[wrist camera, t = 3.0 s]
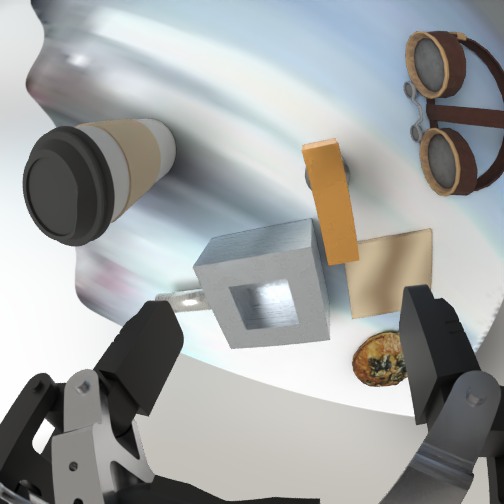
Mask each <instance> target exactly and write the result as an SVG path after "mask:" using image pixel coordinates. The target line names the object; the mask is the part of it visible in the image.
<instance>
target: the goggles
mask: <svg viewBox="0 0 504 504" xmlns="http://www.w3.org/2000/svg"><path fill="white" fill-rule="evenodd" d="M460 43H461V44H463V45H465V46H466V47H468V48H469V49H471V50H472V51H474V52H475V53H476V54H477V55H478V56H479V57H480V58H481V59H482V60H483V61H484V62H485V64H486V65H487V66H488V68H489V69H490V71H491V73H492V74H493V76H494V78H495V79H496V82H497V84H498V87H499V90H500V92H501V94H502V98H503V102H504V71H503V69H502V68H501V66H500V64H499V63H498V62H497V60H496V59H495V58H494V57H493V56H492V55H491V54H490V52H489V51H488V50H487V49H485V48H484V47H483V46H481V45H480V44H478V43H477V42H476V41H474V40H472V39H469V38H466V36H465V35H464V34H463V33H459V32H447V31H433V32H422V31H416V32H415V33H414V34H412V35H411V36H410V38H409V40H408V42H407V44H406V54H405V56H406V64H407V69H408V72H409V75H410V79H411V81H412V82H413V83H412V82H409V81H408V82H406V83H405V84H404V92H405V95H406V96H407V97H408V98H410V99H412V102H413V103H415V104H416V105H417V106H418V108H419V114H420V119H419V120H418V121H417V122H416V124H415V125H413V126H412V127H411V129H410V133H411V137H412V139H413V140H414V141H415V142H420V141H421V143H420V159H421V165H422V169H423V172H424V175H425V178H426V180H427V182H428V183H429V185H430V187H431V188H432V189H433V190H434V191H435V192H436V193H437V194H438V195H442V196H448V195H465V196H467V195H469V194H470V193H472V192H473V191H478V190H480V189H483V188H485V187H488V186H490V185H491V184H492V183H493V182H495V181H496V180H497V179H498V178H499V177H500V176H501V175H502V173H503V172H504V137H503V142H502V146H501V149H500V151H499V154H498V156H497V158H496V160H495V161H494V163H493V164H492V166H491V167H490V168H489V170H488V171H487V172H486V173H484V174H483V175H482V176H480V177H479V178H478V179H477V166H476V162H475V158H474V155H473V153H472V151H471V149H470V147H469V145H468V143H467V142H466V140H465V139H464V138H463V137H462V136H461V135H460V134H459V133H458V132H456V131H454V130H452V129H450V128H442V129H438V124H437V121H444V122H451V123H459V124H467V125H476V126H485V127H494V128H503V129H504V111H499V110H490V109H479V108H467V107H455V106H442V105H435V101H434V98H446V97H450V96H454V95H455V94H456V93H457V92H458V91H459V90H460V88H461V87H462V84H463V81H464V79H465V76H466V59H465V55H464V52H463V48H462V46H461V45H460ZM416 89H417V90H418V91H419V92H420V93H421V94H422V95H423V96H424V97H426V98H427V104H426V113H427V116H428V119H429V121H430V127H431V128H430V129H427V130H426V132H425V133H424V134H422V130H421V128H420V127H419V126H418V124H420V123H421V122H422V121H423V115H422V107H421V106H420V105H419V104H418V103H417V102H416V101H415V97H416Z"/></svg>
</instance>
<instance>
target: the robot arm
mask: <svg viewBox="0 0 504 504" xmlns="http://www.w3.org/2000/svg"><path fill="white" fill-rule="evenodd" d="M399 338H400V344H401V348H402V352H403V356H404V361H405V365H406V370H407V375H408V380H409V385H410V391H411V396H412V402H413V408H414V414H415V421H416V425H420V424H425V423H427V427H428V435H427V436H426V438H425V439H424V441H423V443H422V444H421V446H420V448H419V449H418V451H417V452H416V454H415V455H414V457H413V458H412V460H411V461H410V463H409V464H408V466H407V467H406V469H405V470H404V471H403V473H402V474H401V476H400V477H399V478H398V480H397V481H396V482H395V484H394V485H393V486H392V488H391V489H390V490H389V491H388V493H387V494H386V495H385V496H384V498H383V499H382V500H381V501H380V502H379V504H461V502H462V501H463V499H464V497H465V495H466V494H467V492H468V490H469V488H470V486H471V484H472V481H473V478H474V474H473V473H472V470H473V468H474V465H475V463H476V461H477V459H478V457H486V458H487V467H488V476H489V492H490V504H504V386H500V385H499V384H498V382H497V381H496V379H495V378H494V377H493V376H492V375H490V374H488V373H486V372H483V371H481V369H480V367H479V364H478V361H477V359H476V356H475V354H474V352H473V349H472V347H471V344H470V342H469V340H468V338H467V335H466V333H465V332H464V329H463V327H462V324H461V322H459V318H458V316H457V314H456V312H455V310H454V308H453V307H452V306H451V305H450V304H449V303H448V302H446V301H445V300H444V299H443V298H440V299H434V297H433V294H432V292H431V290H430V288H429V286H428V285H427V284H422V285H414V286H405V287H404V290H403V297H402V306H401V314H400V321H399ZM183 343H184V336H183V332H182V330H181V327H180V325H179V323H178V321H177V318H176V316H175V314H174V311H173V309H172V307H171V305H170V303H169V302H168V301H166V300H163V301H147V302H146V303H145V304H144V305H143V307H142V308H141V309H140V311H139V312H138V313H137V314H136V315H135V316H134V317H132V318H131V319H130V320H129V321H127V322H126V324H125V325H124V326H123V328H122V329H121V331H120V334H118V335H117V336H116V337H115V339H114V342H112V343H111V345H110V346H109V347H108V349H107V350H106V352H105V353H104V354H103V356H102V357H101V359H100V360H99V362H98V363H97V365H96V366H95V367H94V369H93V370H90V369H85V370H81V371H79V372H77V373H75V374H74V375H73V376H72V377H71V378H70V379H69V380H68V381H67V383H55V382H54V381H53V380H52V379H51V377H50V376H49V375H48V374H46V373H40V374H37V375H35V376H34V377H32V378H31V379H30V380H29V381H28V383H27V384H26V386H25V387H24V388H23V390H22V391H21V393H20V395H19V396H18V398H17V399H16V400H15V402H14V404H13V405H12V406H11V408H10V410H9V411H8V413H7V414H6V416H5V418H4V419H3V421H2V422H1V424H0V504H320V499H305V498H304V499H303V498H281V497H272V498H264V499H254V500H244V501H225V500H223V499H220V498H218V497H216V496H213V495H211V494H209V493H207V492H205V491H203V490H201V489H199V488H197V487H195V486H193V485H191V484H188V483H183V482H180V481H175V480H172V479H168V478H165V477H161V476H158V475H155V474H154V473H153V472H152V470H151V469H150V467H149V465H148V463H147V460H146V457H145V453H144V449H143V446H142V442H141V438H140V434H139V431H138V426H137V423H136V421H135V420H134V417H135V415H136V414H140V415H145V416H149V415H150V413H151V411H152V409H153V406H154V404H155V402H156V400H157V398H158V396H159V394H160V392H161V390H162V388H163V386H164V384H165V382H166V380H167V377H168V376H169V373H170V372H171V370H172V368H173V365H174V363H175V361H176V359H177V357H178V355H179V353H180V351H181V349H182V347H183ZM44 418H45V419H47V421H48V422H50V423H51V424H52V425H53V426H54V427H55V430H54V431H53V433H52V435H51V437H50V439H49V441H48V443H47V444H46V446H45V448H44V450H43V452H42V453H41V454H39V453H37V452H36V451H35V450H34V448H33V446H32V440H33V438H34V436H35V434H36V432H37V431H38V429H39V427H40V425H41V424H42V422H43V420H44ZM20 481H21V482H20Z"/></svg>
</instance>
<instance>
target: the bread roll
mask: <svg viewBox="0 0 504 504" xmlns="http://www.w3.org/2000/svg"><path fill="white" fill-rule="evenodd" d="M352 366H353V371H354V372H355V375H356V376H357V378H358V379H359V380H360V381H361V382H363V383H364V384H366V385H368V386H374V387H380V386H391V385H397V384H399V382H401V381H403V379H405V378H406V377H408V375H407V370H406V365H405V361H404V356H403V352H402V348H401V344H400V338H399V332H396V333H391V332H389V333H381V334H378V335H375V336H373V337H371V338H370V339H368V340H367V341H366V342H365V343H364V344H363V345H362V346H360V347H359V349H358V351H357V352H356V353H355V355H354V357H353V362H352Z"/></svg>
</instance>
